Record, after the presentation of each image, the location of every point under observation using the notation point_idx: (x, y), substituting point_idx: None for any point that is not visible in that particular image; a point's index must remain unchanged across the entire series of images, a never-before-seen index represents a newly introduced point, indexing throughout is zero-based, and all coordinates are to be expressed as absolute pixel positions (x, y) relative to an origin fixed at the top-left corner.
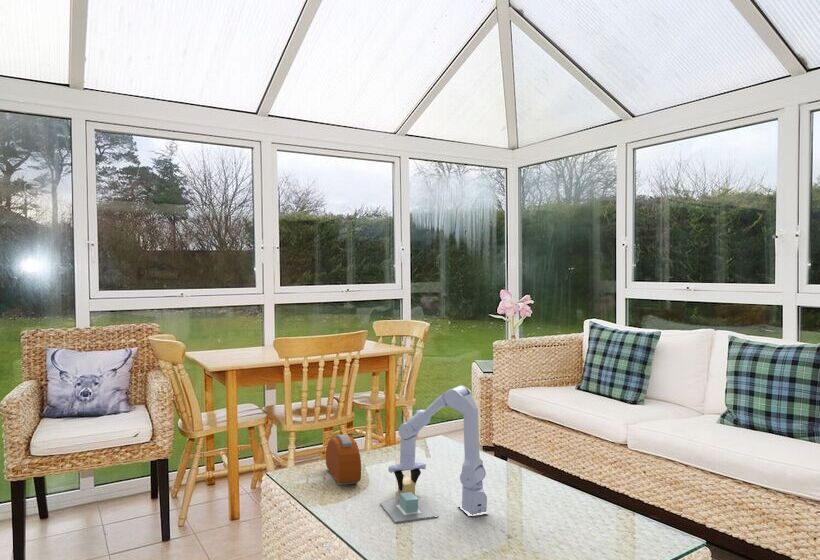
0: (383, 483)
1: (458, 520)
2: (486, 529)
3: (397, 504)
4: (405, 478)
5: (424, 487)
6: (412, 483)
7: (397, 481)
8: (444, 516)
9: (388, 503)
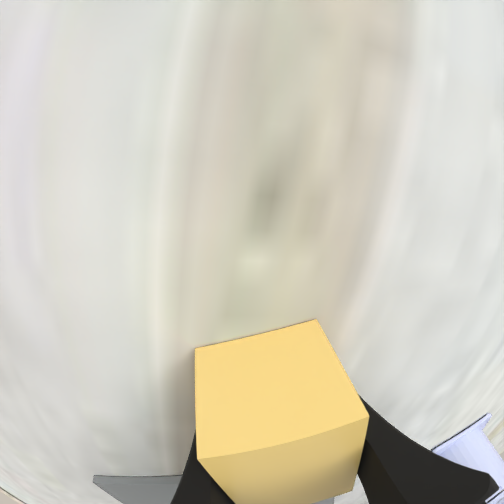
0: (32, 139)
1: None
2: None
3: None
4: (306, 445)
5: (453, 272)
6: (329, 496)
7: (183, 480)
8: (353, 498)
9: (138, 492)
